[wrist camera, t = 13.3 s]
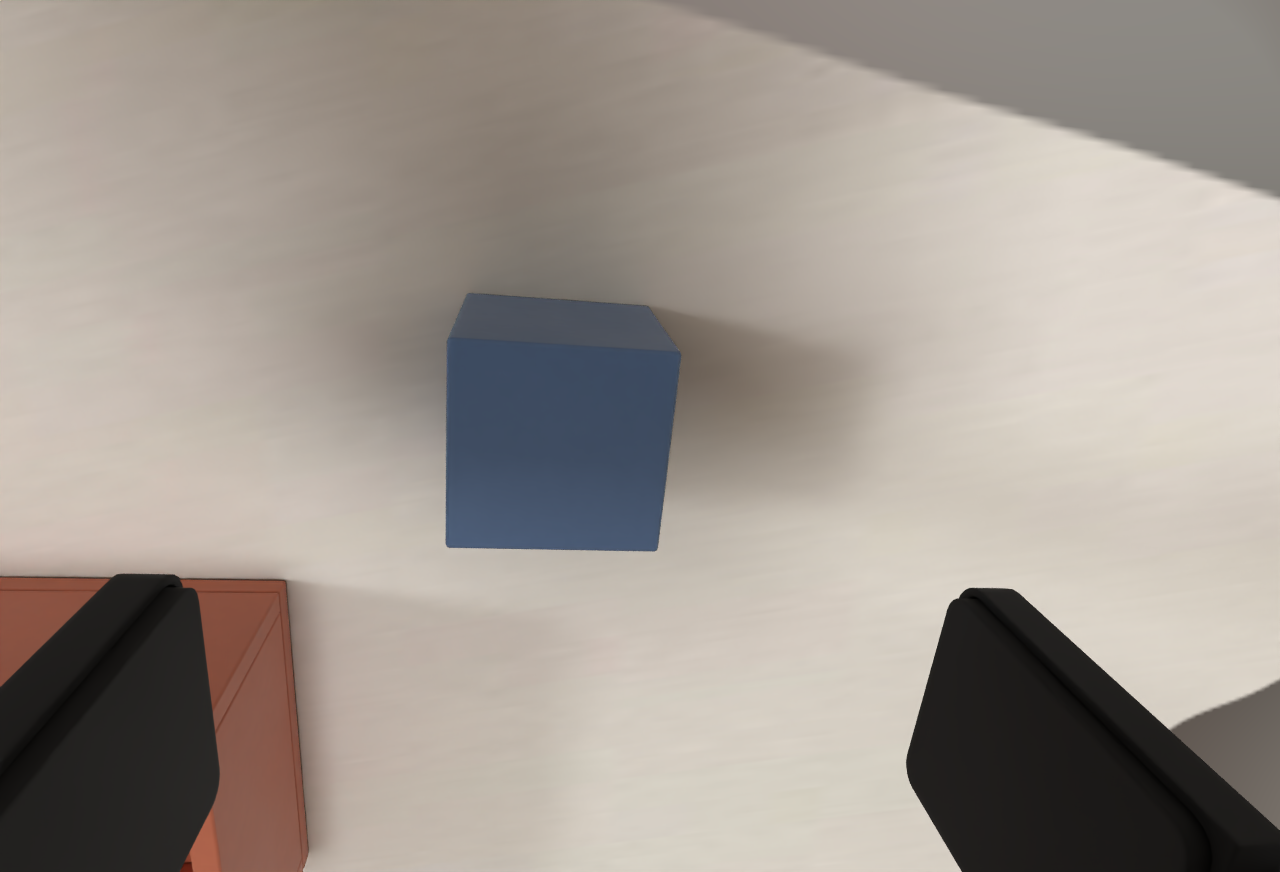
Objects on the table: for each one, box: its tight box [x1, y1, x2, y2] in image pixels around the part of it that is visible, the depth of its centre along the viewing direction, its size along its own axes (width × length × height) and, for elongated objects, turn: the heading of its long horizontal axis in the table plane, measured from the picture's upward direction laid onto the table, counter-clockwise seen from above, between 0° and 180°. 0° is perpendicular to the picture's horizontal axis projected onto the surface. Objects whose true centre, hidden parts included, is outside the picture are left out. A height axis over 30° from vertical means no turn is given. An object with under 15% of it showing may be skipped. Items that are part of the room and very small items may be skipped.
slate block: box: [446, 293, 681, 551], centre depth 17 cm, size 4×4×4 cm
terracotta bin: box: [0, 578, 308, 872], centre depth 18 cm, size 10×10×6 cm
